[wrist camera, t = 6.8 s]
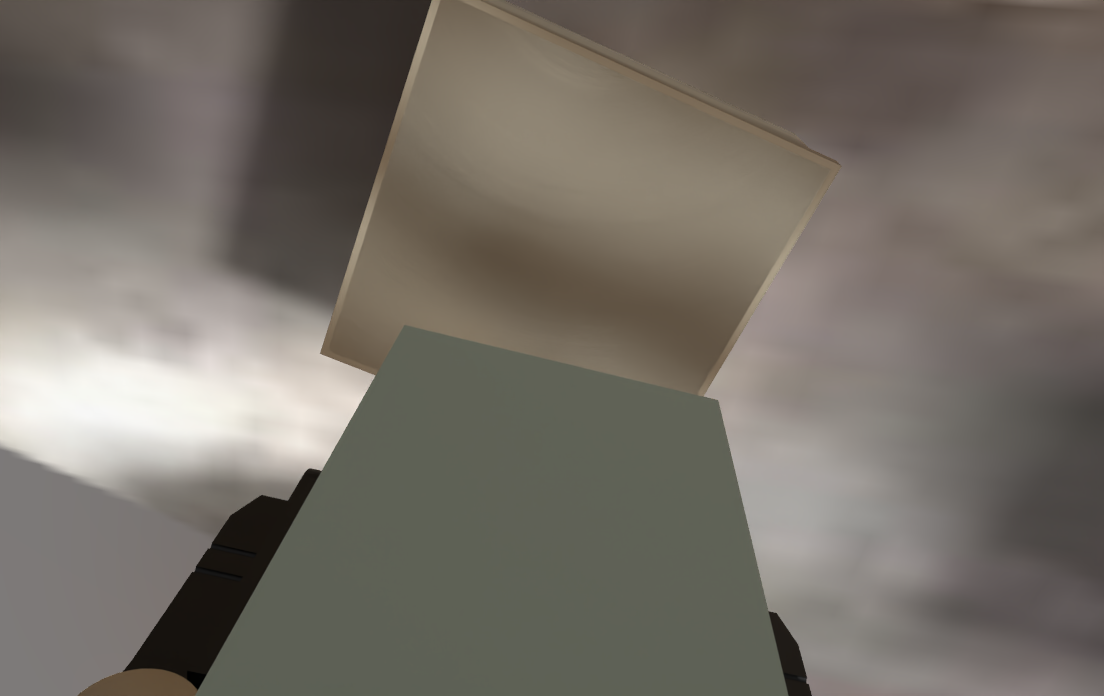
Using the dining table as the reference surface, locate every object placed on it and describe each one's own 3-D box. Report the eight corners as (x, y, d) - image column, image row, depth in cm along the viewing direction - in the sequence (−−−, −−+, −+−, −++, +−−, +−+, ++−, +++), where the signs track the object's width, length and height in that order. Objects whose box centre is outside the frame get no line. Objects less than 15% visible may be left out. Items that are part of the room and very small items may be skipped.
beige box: (470, -24, 24) (437, -20, 19) (800, 128, 25) (841, 166, 21) (365, 291, 29) (320, 353, 24) (645, 404, 30) (651, 483, 26)
